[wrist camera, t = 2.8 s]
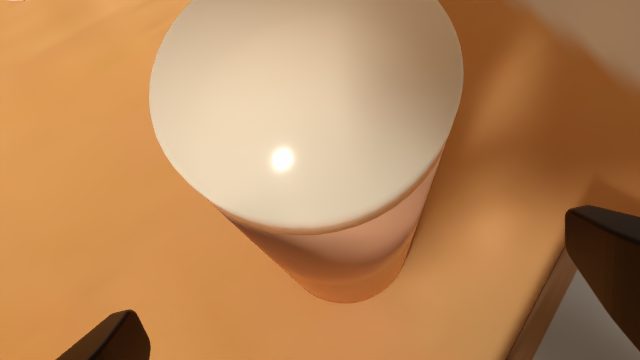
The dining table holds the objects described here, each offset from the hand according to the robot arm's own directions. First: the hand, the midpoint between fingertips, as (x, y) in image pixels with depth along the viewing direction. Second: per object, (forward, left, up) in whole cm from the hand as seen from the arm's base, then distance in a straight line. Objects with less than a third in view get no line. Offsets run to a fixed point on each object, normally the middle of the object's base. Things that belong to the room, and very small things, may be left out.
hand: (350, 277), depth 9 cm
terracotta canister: (+2, +2, -10) cm, 11 cm away
